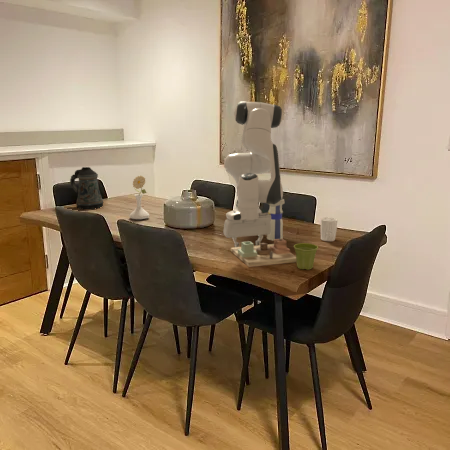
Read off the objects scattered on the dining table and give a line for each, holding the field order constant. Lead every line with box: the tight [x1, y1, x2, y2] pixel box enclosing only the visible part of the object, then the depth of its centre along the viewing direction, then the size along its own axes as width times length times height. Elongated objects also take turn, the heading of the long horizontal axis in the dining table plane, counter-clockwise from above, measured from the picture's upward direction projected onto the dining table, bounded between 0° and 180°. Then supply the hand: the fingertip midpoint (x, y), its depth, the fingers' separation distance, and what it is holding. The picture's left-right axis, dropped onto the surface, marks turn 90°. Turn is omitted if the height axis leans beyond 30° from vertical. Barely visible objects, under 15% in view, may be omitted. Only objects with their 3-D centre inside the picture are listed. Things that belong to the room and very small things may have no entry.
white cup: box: [320, 217, 338, 242], centre depth 219 cm, size 8×8×10 cm
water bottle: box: [266, 198, 285, 242], centre depth 218 cm, size 8×9×25 cm
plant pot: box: [293, 242, 319, 270], centre depth 180 cm, size 9×9×9 cm
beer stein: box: [69, 166, 104, 210], centre depth 287 cm, size 16×19×25 cm
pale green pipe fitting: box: [238, 240, 257, 257], centre depth 191 cm, size 6×6×5 cm
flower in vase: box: [129, 175, 151, 220], centre depth 256 cm, size 13×11×25 cm
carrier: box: [230, 238, 297, 268], centre depth 194 cm, size 22×22×7 cm
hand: (247, 245), depth 191 cm, fingers open, 8 cm apart
